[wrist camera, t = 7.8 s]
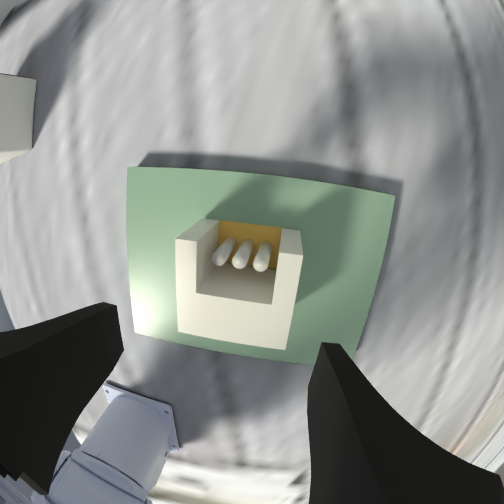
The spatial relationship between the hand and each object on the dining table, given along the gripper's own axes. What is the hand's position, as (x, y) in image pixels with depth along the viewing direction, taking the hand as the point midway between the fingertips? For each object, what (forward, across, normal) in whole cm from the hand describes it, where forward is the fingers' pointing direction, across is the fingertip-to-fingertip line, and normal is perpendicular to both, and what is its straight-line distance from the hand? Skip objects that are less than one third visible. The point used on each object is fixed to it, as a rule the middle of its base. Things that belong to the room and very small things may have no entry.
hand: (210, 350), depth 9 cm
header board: (+9, 0, 0) cm, 9 cm away
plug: (+8, 0, 0) cm, 8 cm away
